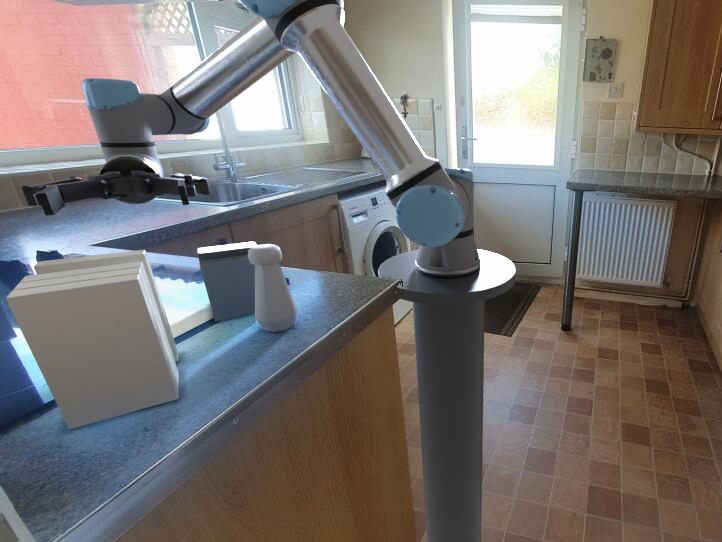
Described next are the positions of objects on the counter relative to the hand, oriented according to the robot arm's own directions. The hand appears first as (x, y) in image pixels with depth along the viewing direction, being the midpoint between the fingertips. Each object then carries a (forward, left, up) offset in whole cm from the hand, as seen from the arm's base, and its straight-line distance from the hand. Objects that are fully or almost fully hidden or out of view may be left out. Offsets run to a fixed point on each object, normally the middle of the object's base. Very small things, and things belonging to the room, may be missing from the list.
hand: (119, 199), depth 54 cm
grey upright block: (-10, -3, -20) cm, 22 cm away
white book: (+3, +11, -20) cm, 22 cm away
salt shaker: (-14, +8, -20) cm, 26 cm away
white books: (+3, +18, -20) cm, 27 cm away
